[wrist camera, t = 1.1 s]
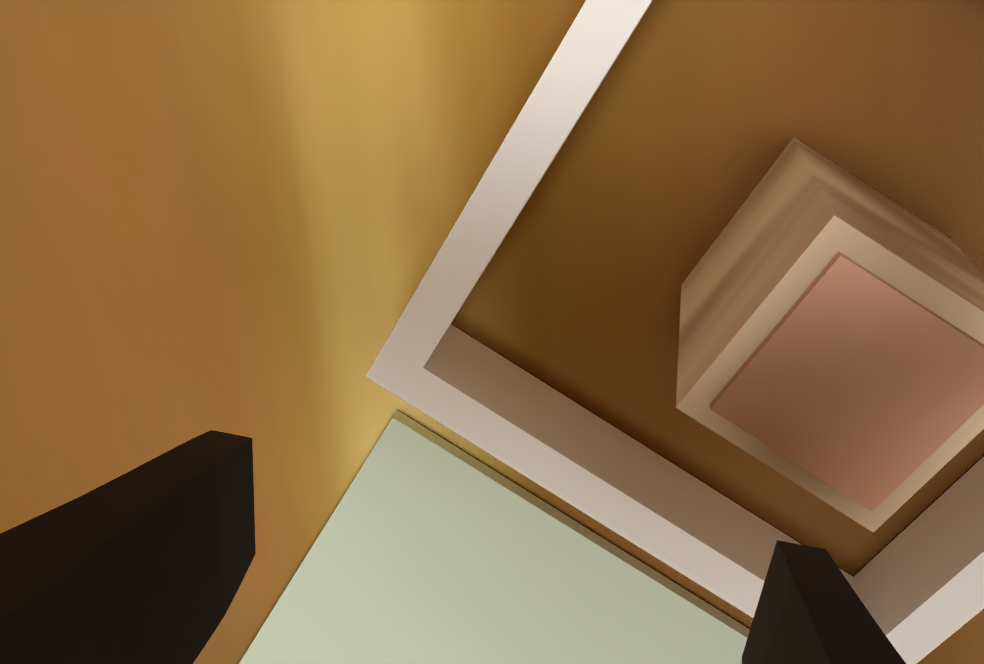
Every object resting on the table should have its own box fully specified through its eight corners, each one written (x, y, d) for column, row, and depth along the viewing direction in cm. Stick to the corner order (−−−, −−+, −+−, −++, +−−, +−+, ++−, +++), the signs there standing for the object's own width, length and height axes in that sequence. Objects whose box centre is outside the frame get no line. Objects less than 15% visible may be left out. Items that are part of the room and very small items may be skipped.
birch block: (951, 239, 18) (1062, 365, 13) (826, 376, 20) (875, 539, 15) (793, 137, 18) (836, 218, 13) (681, 284, 20) (675, 413, 14)
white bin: (1366, 170, 16) (1474, 205, 14) (859, 621, 22) (877, 695, 20) (742, -247, 16) (749, -280, 14) (398, 333, 22) (365, 376, 20)
